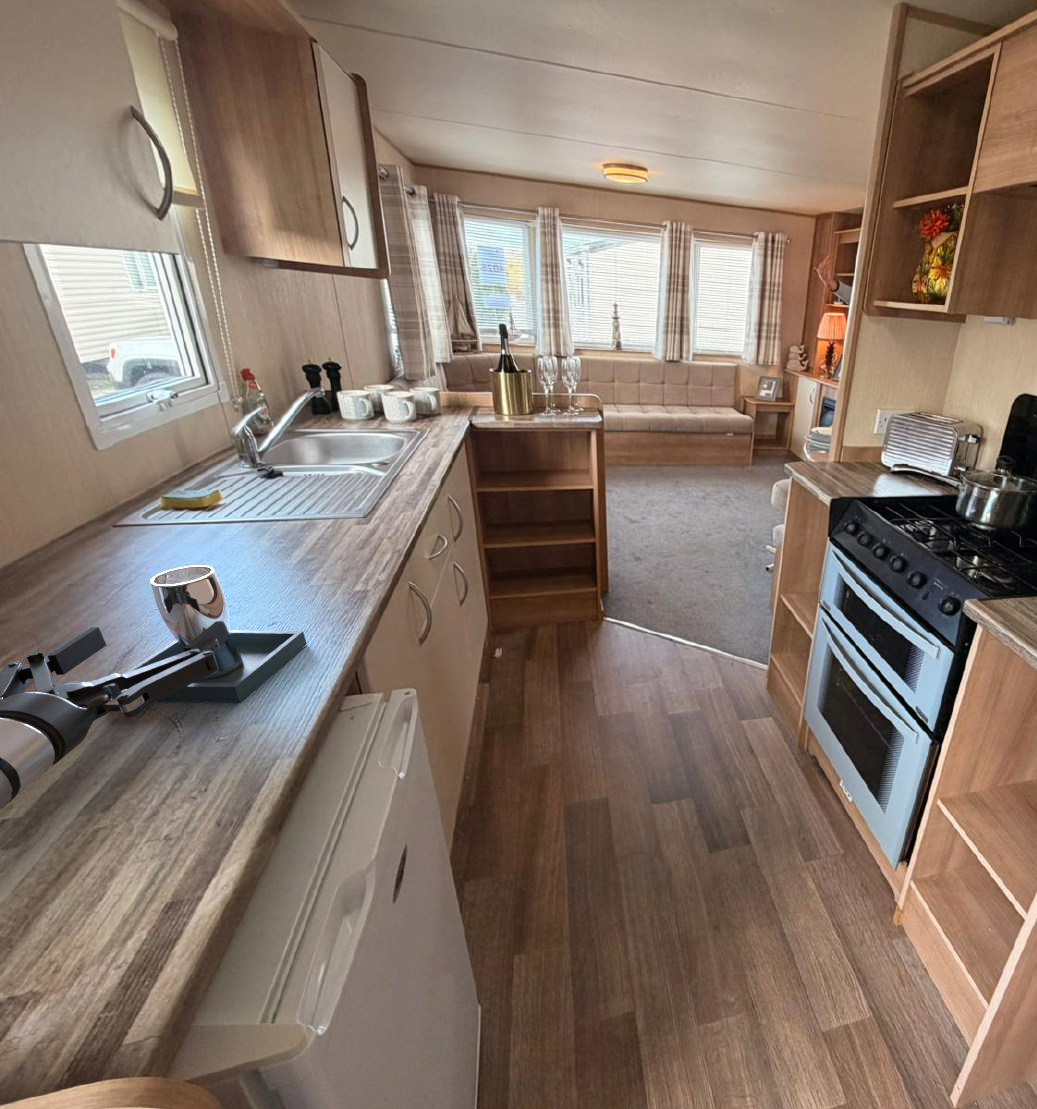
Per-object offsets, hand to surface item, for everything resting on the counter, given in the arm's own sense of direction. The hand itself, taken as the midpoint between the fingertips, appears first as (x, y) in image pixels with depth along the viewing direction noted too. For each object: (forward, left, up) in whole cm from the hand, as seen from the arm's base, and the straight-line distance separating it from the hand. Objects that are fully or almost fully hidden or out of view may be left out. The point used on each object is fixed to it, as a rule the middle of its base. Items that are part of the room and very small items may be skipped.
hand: (162, 633), depth 76 cm
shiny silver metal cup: (-1, +6, -10) cm, 12 cm away
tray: (-1, +6, -10) cm, 12 cm away
